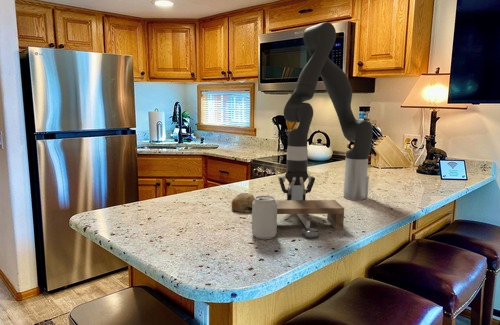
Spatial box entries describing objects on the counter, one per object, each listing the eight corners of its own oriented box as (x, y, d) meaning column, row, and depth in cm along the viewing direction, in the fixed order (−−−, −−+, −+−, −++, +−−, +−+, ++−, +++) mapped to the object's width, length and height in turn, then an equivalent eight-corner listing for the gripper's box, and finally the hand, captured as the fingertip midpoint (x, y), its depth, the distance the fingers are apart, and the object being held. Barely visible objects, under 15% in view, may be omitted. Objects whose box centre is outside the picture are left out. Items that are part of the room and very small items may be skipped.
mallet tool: (299, 209, 139) (300, 183, 138) (314, 227, 119) (315, 197, 117) (289, 209, 139) (290, 183, 137) (301, 227, 118) (302, 197, 117)
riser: (333, 219, 128) (334, 200, 127) (343, 229, 118) (344, 208, 117) (265, 220, 126) (265, 200, 125) (268, 230, 116) (269, 208, 115)
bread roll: (236, 222, 135) (240, 205, 131) (225, 204, 143) (229, 187, 139) (259, 218, 140) (264, 202, 136) (248, 201, 147) (252, 185, 143)
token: (316, 233, 114) (317, 228, 114) (320, 239, 109) (320, 233, 109) (300, 233, 114) (301, 228, 114) (303, 239, 109) (304, 233, 109)
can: (250, 231, 114) (251, 194, 113) (274, 231, 115) (275, 194, 113) (252, 240, 107) (253, 200, 105) (278, 240, 108) (279, 200, 106)
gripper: (313, 156, 138) (312, 200, 141) (276, 156, 137) (275, 201, 140) (319, 159, 131) (317, 206, 134) (279, 159, 130) (278, 206, 132)
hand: (295, 203), depth 137 cm, fingers closed on mallet tool, 4 cm apart
